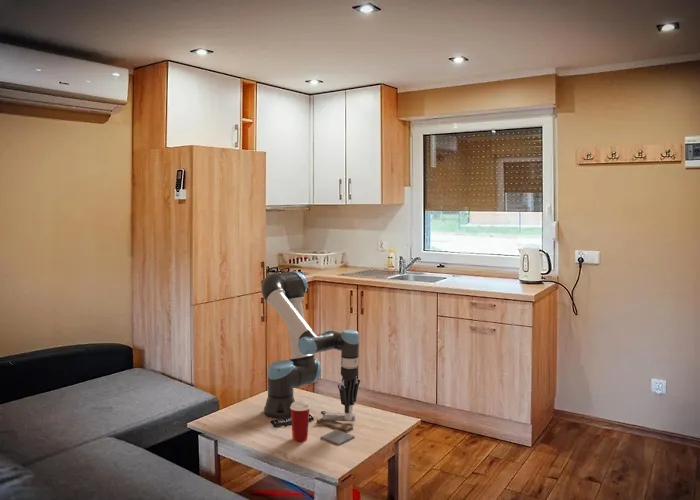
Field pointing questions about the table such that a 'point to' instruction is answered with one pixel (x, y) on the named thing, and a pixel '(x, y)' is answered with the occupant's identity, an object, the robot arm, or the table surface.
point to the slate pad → (337, 437)
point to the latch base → (335, 425)
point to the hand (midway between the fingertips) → (348, 419)
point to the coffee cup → (300, 420)
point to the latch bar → (336, 416)
